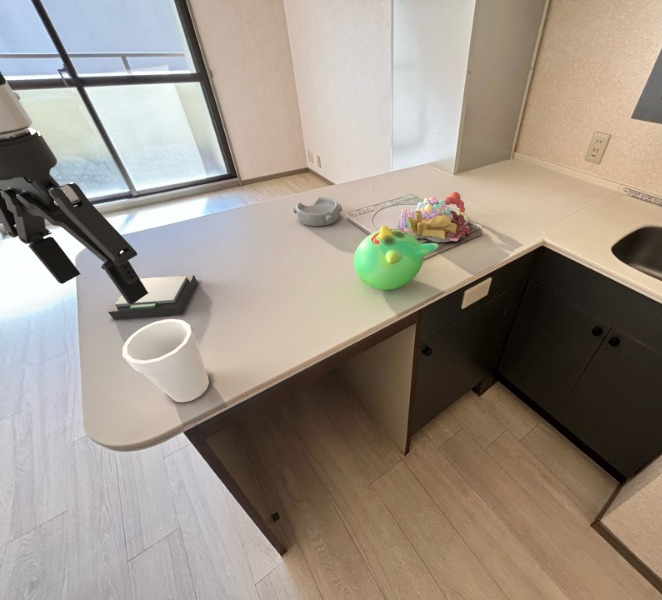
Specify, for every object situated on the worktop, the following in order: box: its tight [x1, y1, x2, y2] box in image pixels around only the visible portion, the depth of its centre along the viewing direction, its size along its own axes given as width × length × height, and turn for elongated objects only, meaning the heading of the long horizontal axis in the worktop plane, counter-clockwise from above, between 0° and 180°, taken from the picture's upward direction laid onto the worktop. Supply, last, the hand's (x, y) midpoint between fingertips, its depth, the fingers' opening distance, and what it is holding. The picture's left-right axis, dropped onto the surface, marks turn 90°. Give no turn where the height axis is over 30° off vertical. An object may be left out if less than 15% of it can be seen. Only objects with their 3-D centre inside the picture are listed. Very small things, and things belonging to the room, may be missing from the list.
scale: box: [107, 274, 198, 321], centre depth 76 cm, size 14×12×3 cm
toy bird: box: [353, 224, 440, 291], centre depth 81 cm, size 18×17×15 cm
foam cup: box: [122, 318, 210, 403], centre depth 56 cm, size 10×9×13 cm
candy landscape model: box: [399, 191, 472, 243], centre depth 107 cm, size 25×24×9 cm
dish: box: [292, 196, 343, 227], centre depth 110 cm, size 14×14×5 cm
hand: (103, 288), depth 49 cm, fingers open, 13 cm apart
